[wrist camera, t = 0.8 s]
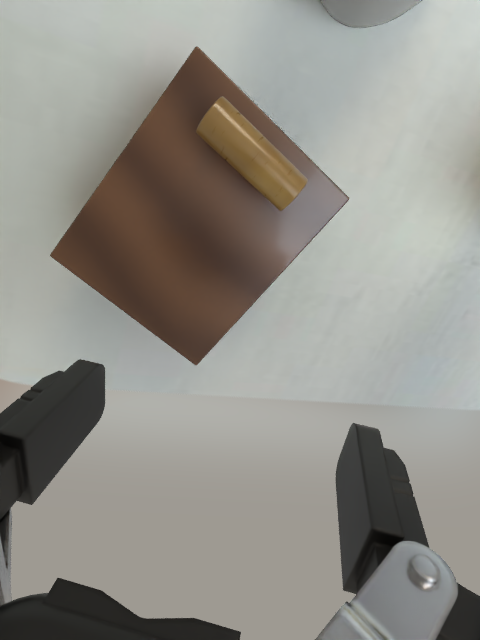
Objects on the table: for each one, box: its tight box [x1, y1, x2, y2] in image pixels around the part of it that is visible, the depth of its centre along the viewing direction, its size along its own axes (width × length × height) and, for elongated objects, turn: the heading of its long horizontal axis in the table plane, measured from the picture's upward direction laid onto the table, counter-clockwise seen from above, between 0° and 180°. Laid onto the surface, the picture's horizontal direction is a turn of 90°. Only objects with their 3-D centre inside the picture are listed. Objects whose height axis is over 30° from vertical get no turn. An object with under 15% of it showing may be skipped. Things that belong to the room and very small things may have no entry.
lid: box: [50, 47, 349, 365], centre depth 21 cm, size 14×12×5 cm
